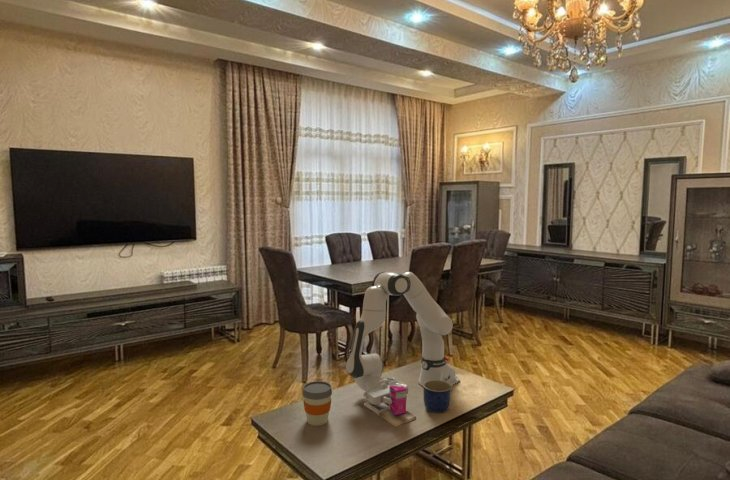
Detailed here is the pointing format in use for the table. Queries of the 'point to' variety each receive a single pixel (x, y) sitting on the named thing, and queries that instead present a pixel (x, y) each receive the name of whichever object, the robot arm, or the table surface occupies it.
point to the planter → (436, 395)
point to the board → (397, 418)
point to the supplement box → (397, 399)
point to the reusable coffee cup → (317, 402)
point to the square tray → (375, 408)
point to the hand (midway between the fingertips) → (399, 399)
